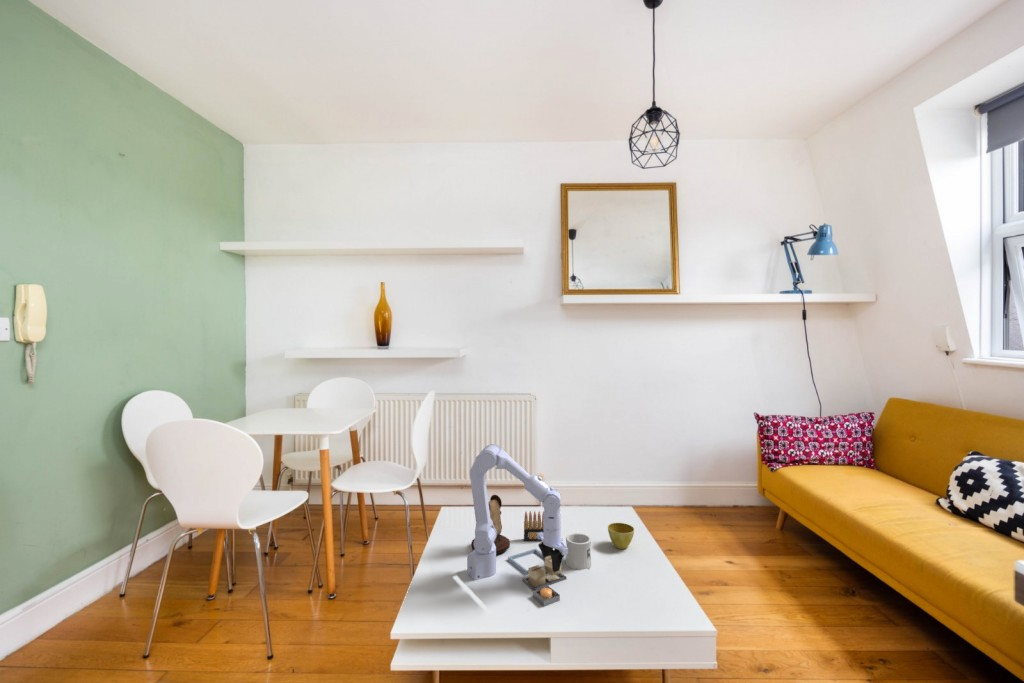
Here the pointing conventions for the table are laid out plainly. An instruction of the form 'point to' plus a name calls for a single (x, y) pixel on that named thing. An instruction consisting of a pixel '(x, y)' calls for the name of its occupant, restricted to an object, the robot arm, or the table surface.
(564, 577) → the plate
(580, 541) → the mug
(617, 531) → the flower pot
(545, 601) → the button housing
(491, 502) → the scroll
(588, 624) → the table surface
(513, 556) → the light blue square tray
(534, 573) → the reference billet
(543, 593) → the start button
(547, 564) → the tan cardboard block
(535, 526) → the ammunition clip
